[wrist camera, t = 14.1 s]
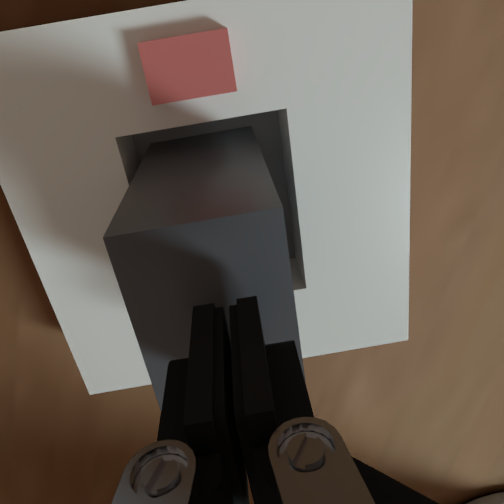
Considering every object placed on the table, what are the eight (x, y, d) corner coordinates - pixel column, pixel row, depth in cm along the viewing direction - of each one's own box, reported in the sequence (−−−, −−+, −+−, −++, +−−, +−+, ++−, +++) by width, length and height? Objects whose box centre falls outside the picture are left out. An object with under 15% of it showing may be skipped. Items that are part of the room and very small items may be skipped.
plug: (250, 126, 20) (282, 206, 11) (276, 295, 24) (314, 453, 15) (150, 142, 20) (102, 238, 11) (193, 309, 24) (182, 476, 15)
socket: (374, -26, 19) (423, -41, 14) (381, 296, 26) (414, 350, 22) (-9, 38, 19) (-74, 42, 14) (106, 343, 26) (85, 407, 22)
